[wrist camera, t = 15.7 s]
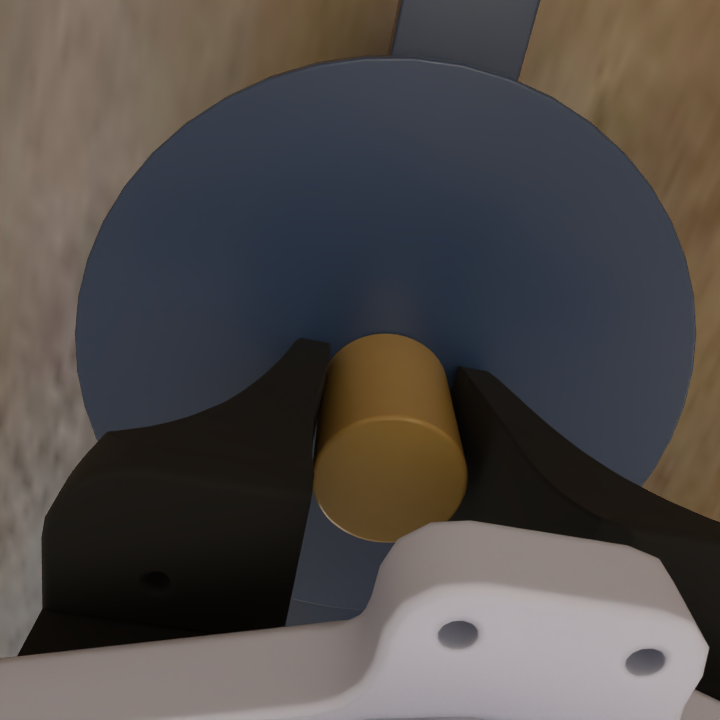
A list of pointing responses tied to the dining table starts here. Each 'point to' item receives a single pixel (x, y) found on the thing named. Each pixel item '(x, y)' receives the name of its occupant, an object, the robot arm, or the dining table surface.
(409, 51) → the pot
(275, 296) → the lid
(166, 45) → the dining table surface
